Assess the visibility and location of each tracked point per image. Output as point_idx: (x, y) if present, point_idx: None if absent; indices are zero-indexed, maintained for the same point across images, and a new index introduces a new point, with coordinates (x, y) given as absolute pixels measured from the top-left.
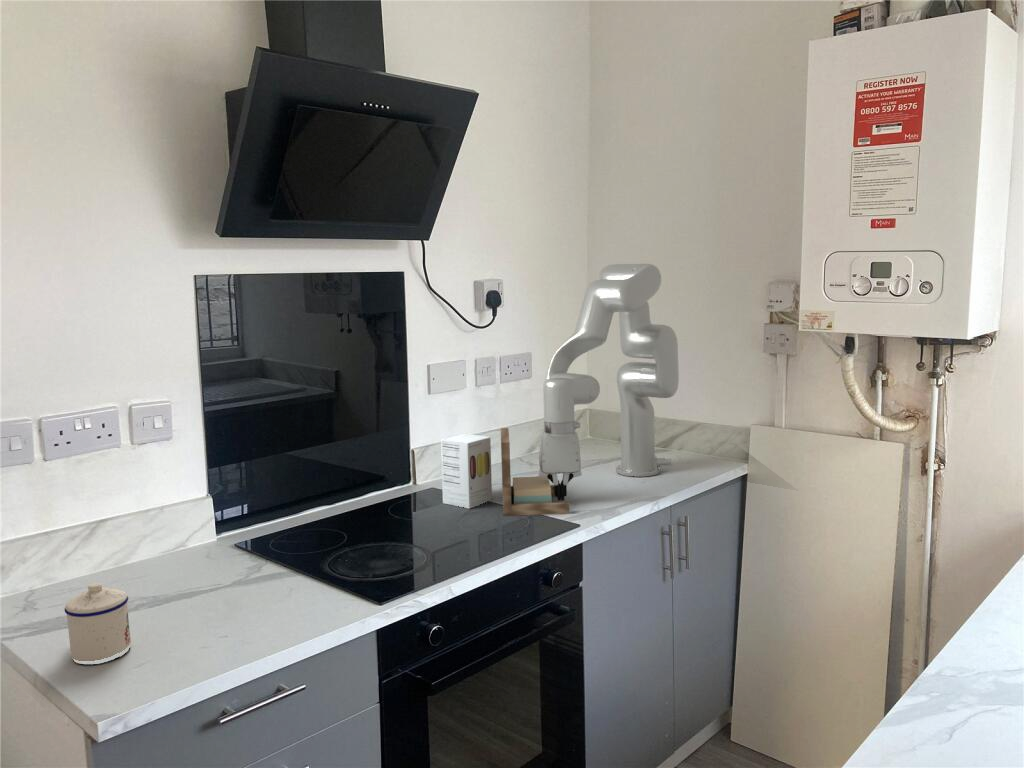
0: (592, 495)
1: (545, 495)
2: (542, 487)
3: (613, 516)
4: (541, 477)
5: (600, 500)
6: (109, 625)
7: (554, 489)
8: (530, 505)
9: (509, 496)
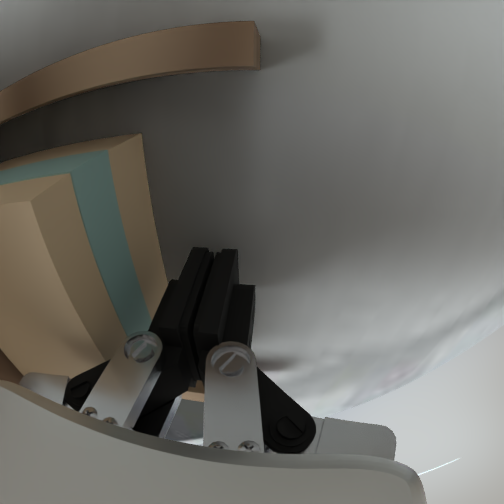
0: (455, 131)
1: None
2: None
3: (386, 392)
4: (6, 236)
5: (453, 241)
6: None
7: (161, 311)
8: None
9: None
